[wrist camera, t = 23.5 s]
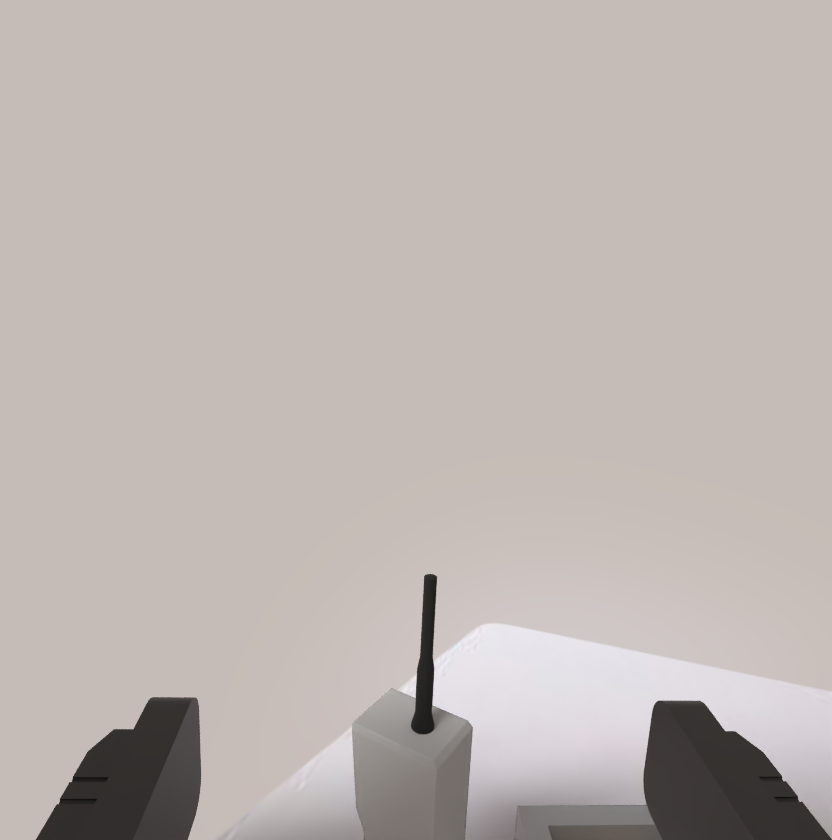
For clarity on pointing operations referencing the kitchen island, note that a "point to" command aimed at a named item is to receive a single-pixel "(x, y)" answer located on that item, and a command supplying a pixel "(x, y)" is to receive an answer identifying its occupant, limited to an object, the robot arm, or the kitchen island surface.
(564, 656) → the kitchen island surface
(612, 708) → the kitchen island surface
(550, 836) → the box
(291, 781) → the kitchen island surface
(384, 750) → the vintage mobile phone
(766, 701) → the kitchen island surface
